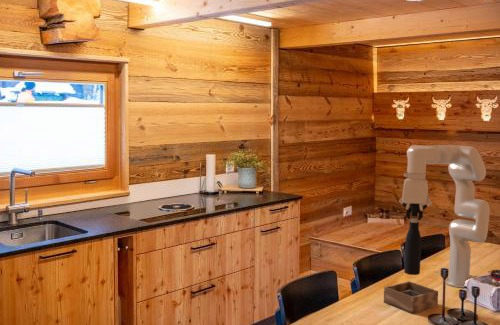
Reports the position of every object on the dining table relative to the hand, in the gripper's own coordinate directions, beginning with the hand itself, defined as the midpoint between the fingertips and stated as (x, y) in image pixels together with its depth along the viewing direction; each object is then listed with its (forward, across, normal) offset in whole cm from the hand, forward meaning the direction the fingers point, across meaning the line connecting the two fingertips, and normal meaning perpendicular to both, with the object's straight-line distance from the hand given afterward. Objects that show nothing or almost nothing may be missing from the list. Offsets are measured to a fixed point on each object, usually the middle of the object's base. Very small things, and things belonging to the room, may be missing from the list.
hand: (414, 218), depth 247 cm
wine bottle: (+24, 0, 0) cm, 24 cm away
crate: (+38, 0, 0) cm, 38 cm away
